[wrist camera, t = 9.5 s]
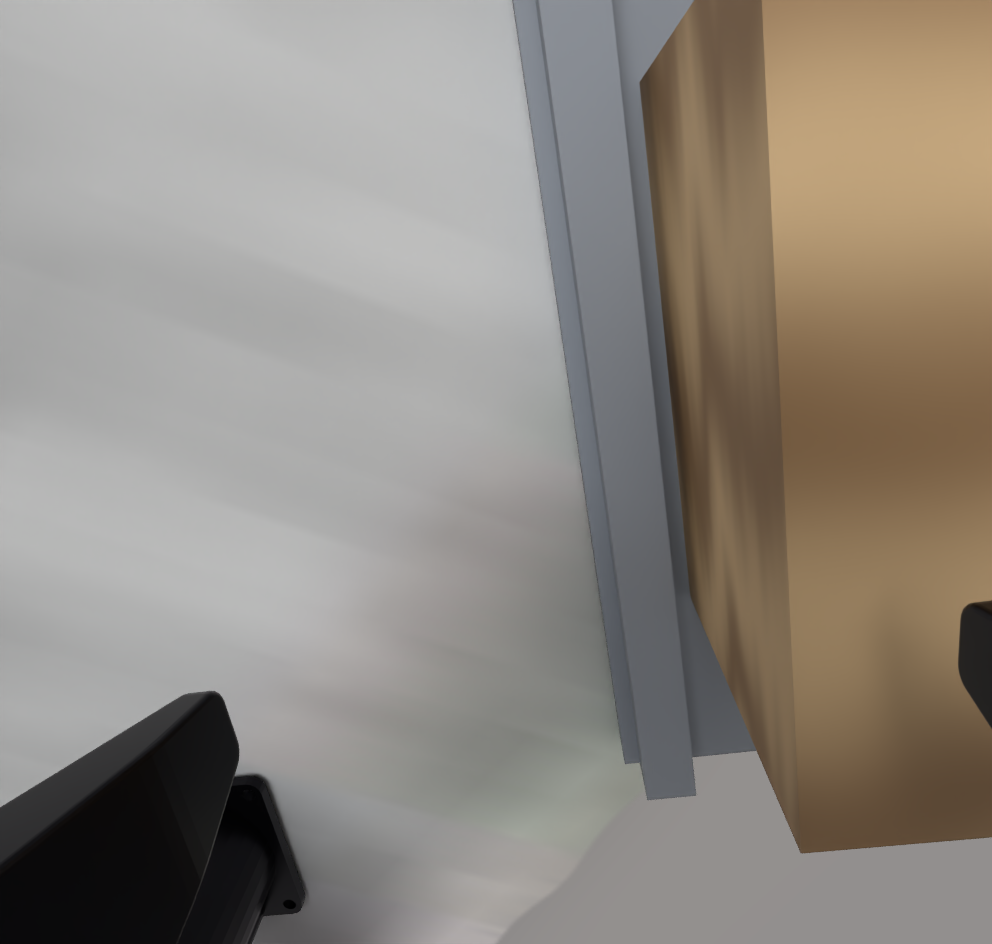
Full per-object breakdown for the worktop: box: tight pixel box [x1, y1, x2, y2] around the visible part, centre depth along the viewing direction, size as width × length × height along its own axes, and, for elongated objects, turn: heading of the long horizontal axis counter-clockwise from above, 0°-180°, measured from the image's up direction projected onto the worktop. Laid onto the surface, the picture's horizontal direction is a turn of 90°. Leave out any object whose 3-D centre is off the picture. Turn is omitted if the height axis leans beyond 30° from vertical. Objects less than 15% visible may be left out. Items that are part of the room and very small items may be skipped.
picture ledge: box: [513, 0, 757, 800], centre depth 18 cm, size 26×9×3 cm, turn 10°
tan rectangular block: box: [639, 0, 992, 853], centre depth 14 cm, size 14×4×9 cm, turn 10°
